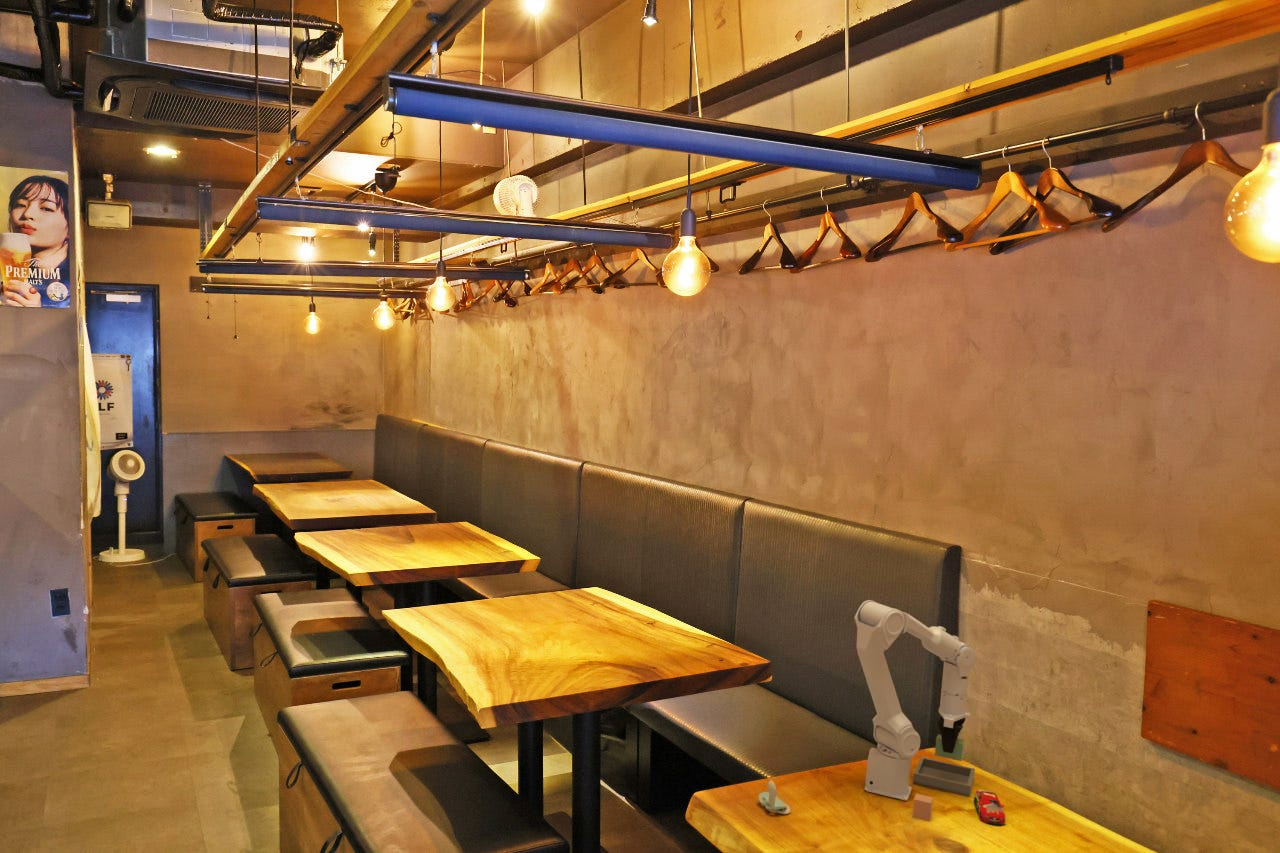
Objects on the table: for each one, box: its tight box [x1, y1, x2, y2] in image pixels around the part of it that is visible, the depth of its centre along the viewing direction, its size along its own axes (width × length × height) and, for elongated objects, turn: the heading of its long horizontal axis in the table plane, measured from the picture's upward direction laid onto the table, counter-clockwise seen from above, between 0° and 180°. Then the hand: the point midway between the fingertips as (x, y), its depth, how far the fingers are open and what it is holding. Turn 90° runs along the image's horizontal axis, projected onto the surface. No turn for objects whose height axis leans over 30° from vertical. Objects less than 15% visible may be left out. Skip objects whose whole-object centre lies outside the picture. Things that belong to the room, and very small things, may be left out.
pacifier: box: [758, 780, 791, 815], centre depth 202 cm, size 7×6×6 cm
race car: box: [973, 789, 1007, 825], centre depth 210 cm, size 13×5×4 cm, turn 167°
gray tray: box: [912, 756, 976, 798], centre depth 226 cm, size 13×13×2 cm
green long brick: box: [934, 734, 966, 762], centre depth 224 cm, size 6×4×4 cm, turn 65°
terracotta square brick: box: [912, 793, 934, 822], centre depth 205 cm, size 4×4×4 cm
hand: (948, 749), depth 224 cm, fingers closed on green long brick, 3 cm apart
